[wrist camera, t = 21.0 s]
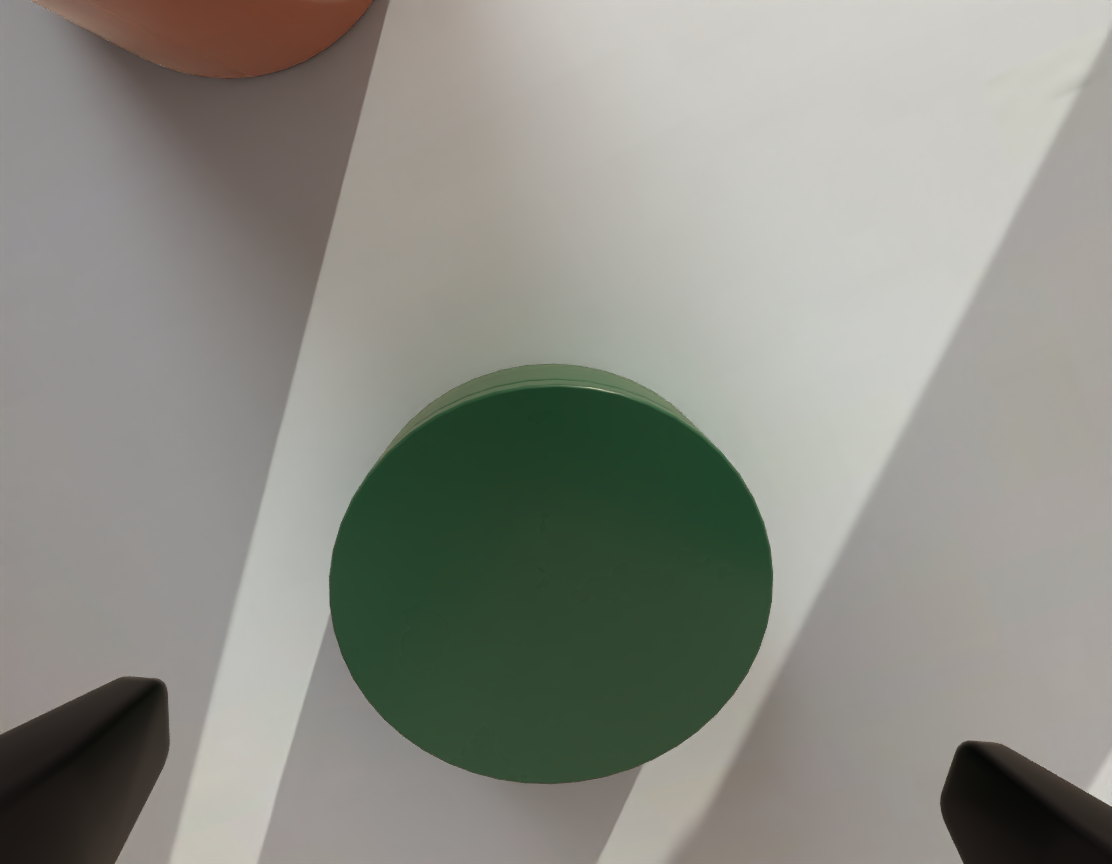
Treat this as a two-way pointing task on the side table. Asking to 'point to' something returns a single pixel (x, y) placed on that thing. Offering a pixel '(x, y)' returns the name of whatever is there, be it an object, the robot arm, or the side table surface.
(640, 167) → the side table surface
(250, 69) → the jar
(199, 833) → the side table surface
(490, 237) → the side table surface
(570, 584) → the green cylinder
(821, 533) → the side table surface
